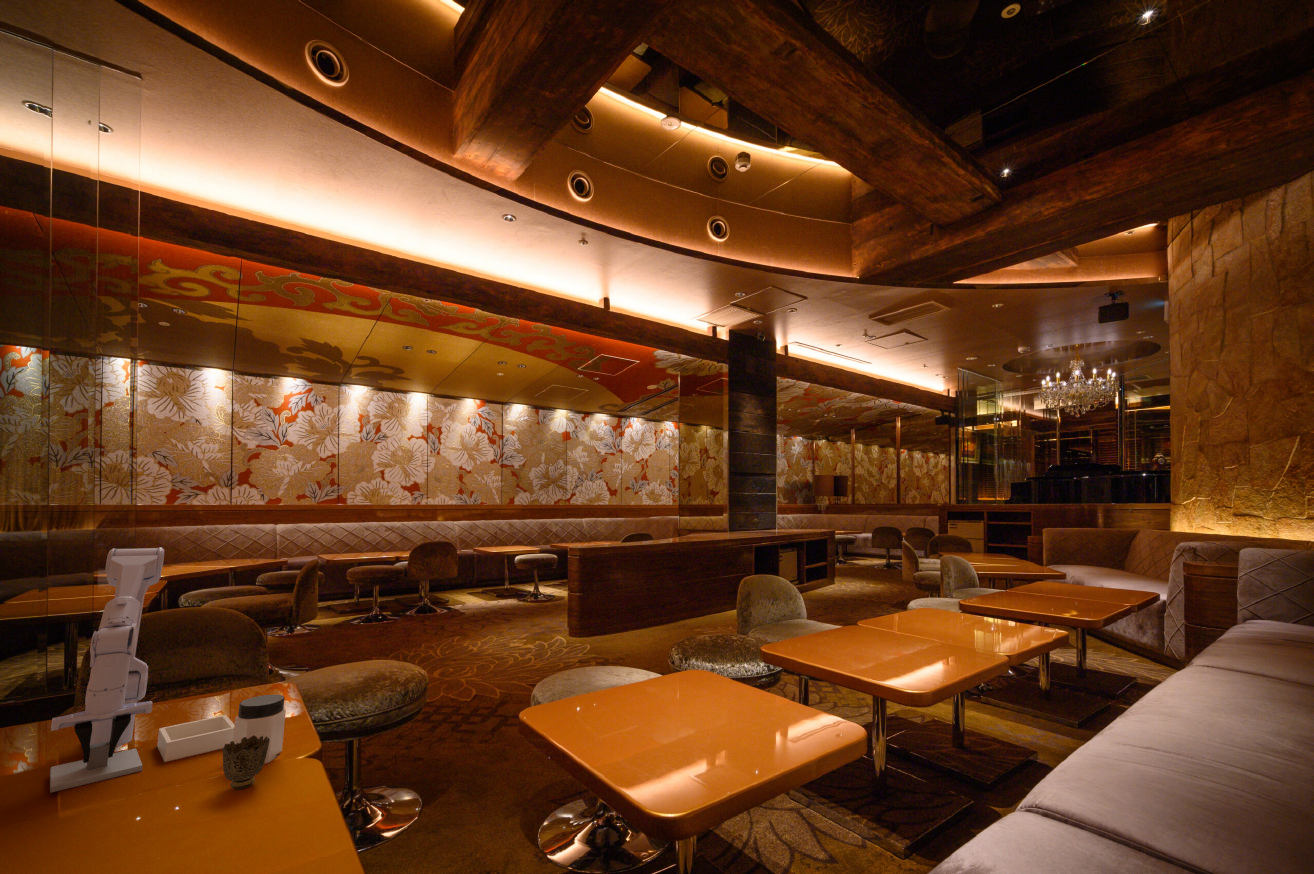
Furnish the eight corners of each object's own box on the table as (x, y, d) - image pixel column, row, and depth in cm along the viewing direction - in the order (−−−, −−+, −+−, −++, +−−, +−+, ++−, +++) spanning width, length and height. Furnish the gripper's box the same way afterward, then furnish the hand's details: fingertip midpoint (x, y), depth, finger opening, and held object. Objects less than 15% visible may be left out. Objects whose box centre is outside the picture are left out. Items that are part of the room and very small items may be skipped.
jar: (228, 771, 114) (235, 709, 116) (231, 757, 121) (238, 698, 123) (281, 761, 119) (287, 701, 121) (281, 748, 126) (286, 691, 127)
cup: (228, 799, 102) (233, 753, 104) (210, 789, 106) (215, 744, 108) (273, 783, 109) (277, 739, 110) (255, 774, 113) (259, 732, 114)
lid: (49, 772, 112) (53, 745, 113) (135, 753, 121) (138, 728, 122) (50, 792, 103) (54, 763, 104) (141, 770, 113) (145, 744, 113)
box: (156, 749, 125) (159, 728, 125) (223, 734, 133) (225, 714, 134) (164, 765, 116) (166, 742, 117) (234, 748, 125) (236, 727, 126)
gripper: (56, 699, 106) (44, 776, 104) (157, 683, 117) (148, 753, 115) (56, 692, 111) (44, 765, 109) (153, 677, 122) (144, 743, 120)
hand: (97, 758), depth 112 cm, fingers closed on lid, 3 cm apart
